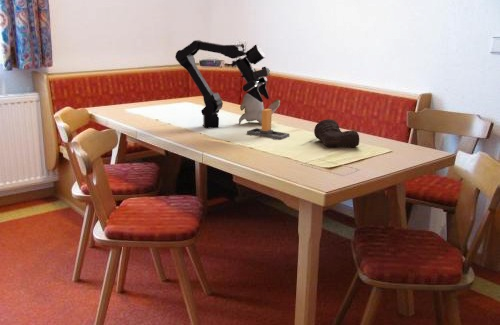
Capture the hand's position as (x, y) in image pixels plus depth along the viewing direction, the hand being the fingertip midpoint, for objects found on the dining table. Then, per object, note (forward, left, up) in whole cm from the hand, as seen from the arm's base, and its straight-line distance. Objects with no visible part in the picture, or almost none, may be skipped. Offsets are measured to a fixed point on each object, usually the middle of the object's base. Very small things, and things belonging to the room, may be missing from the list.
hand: (265, 100), depth 215 cm
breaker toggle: (-2, -8, -14) cm, 16 cm away
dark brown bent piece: (+22, -27, -15) cm, 38 cm away
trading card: (+6, -55, -15) cm, 58 cm away
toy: (+3, +16, -15) cm, 22 cm away
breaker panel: (-1, -9, -15) cm, 17 cm away
